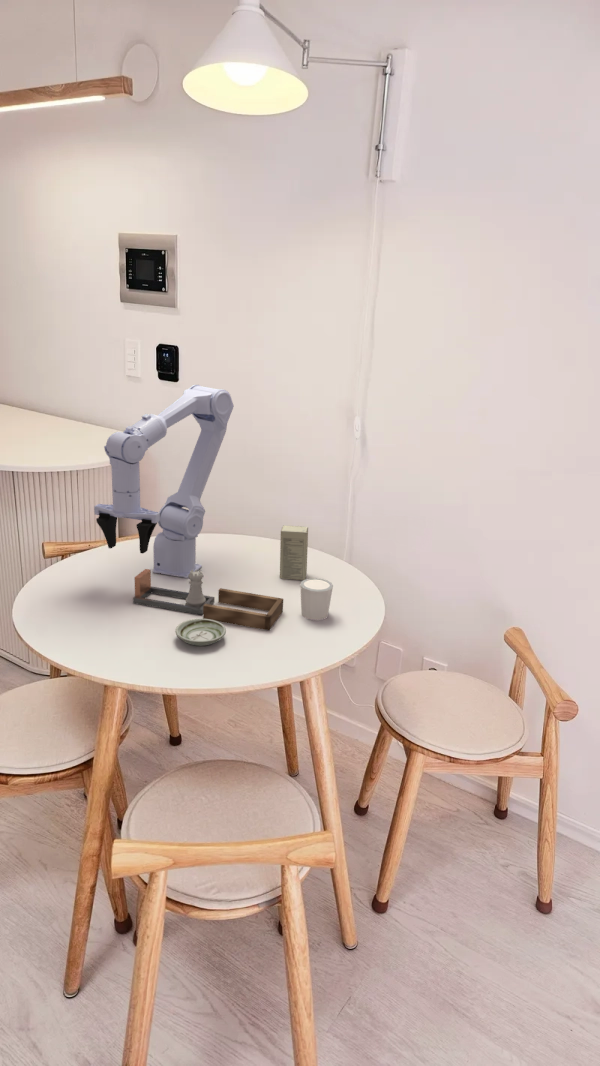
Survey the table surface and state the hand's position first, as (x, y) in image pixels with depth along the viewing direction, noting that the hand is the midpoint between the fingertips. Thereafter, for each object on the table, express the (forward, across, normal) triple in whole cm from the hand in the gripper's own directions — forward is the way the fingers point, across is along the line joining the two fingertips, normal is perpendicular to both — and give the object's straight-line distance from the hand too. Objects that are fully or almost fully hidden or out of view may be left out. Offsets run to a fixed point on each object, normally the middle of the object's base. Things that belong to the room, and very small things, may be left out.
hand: (127, 549), depth 152 cm
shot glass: (+10, +42, +3) cm, 43 cm away
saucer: (+10, +24, -16) cm, 30 cm away
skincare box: (+10, +32, +21) cm, 39 cm away
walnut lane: (+9, +28, -3) cm, 30 cm away
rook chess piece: (+10, +17, -3) cm, 20 cm away
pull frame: (+9, +12, -3) cm, 16 cm away
